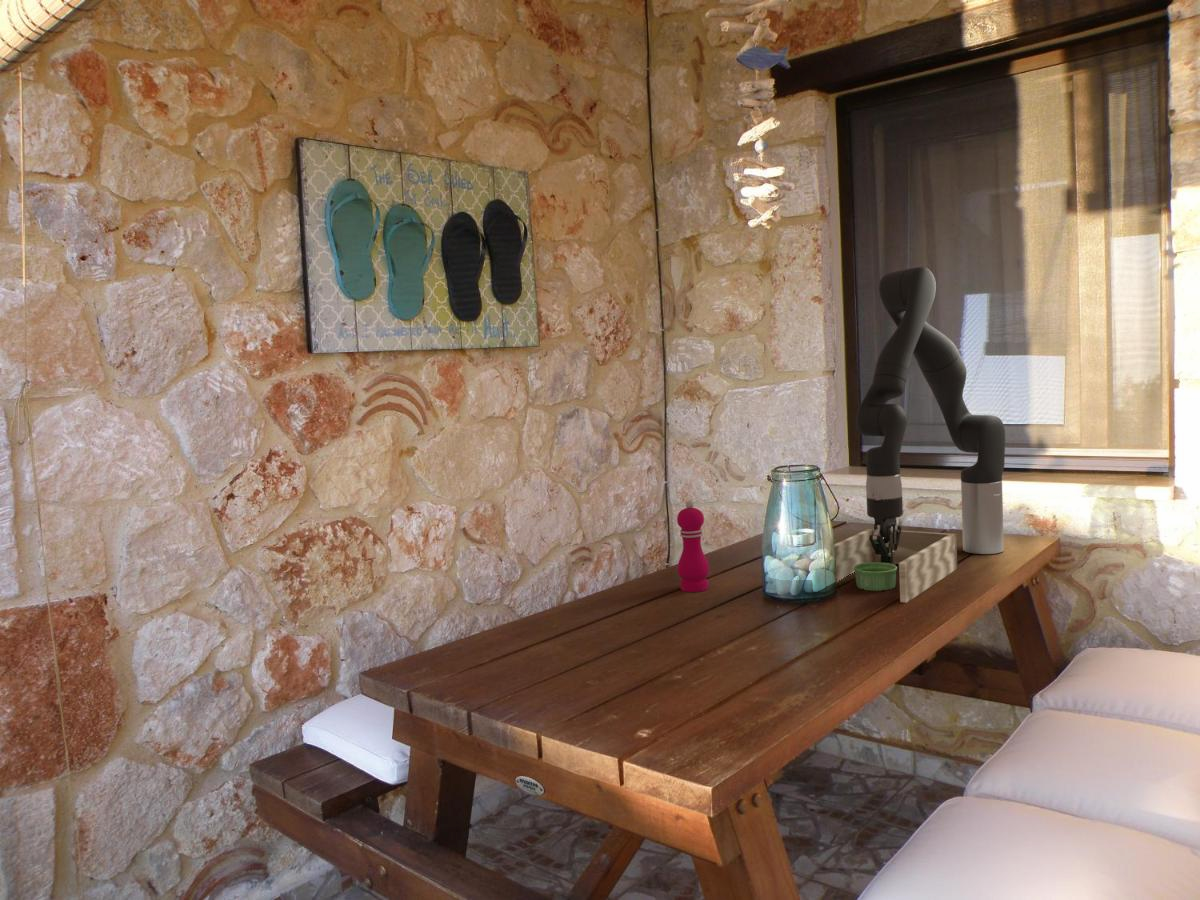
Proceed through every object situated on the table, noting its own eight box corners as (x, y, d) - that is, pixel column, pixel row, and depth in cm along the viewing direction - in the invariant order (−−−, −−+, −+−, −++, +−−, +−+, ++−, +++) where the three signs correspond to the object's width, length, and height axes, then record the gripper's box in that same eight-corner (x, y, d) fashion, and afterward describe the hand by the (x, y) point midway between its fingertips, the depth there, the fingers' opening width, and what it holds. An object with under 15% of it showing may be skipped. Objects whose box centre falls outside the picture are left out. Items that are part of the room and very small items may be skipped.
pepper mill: (710, 584, 208) (705, 497, 206) (711, 592, 201) (706, 502, 199) (678, 585, 208) (673, 499, 207) (678, 593, 201) (672, 504, 199)
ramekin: (903, 590, 192) (903, 570, 191) (861, 593, 192) (860, 573, 191) (890, 580, 201) (889, 560, 200) (849, 583, 201) (848, 563, 200)
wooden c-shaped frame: (870, 561, 220) (869, 528, 219) (957, 568, 207) (956, 534, 206) (812, 592, 195) (810, 555, 194) (906, 602, 182) (904, 563, 181)
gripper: (879, 489, 207) (882, 564, 209) (855, 499, 197) (858, 577, 199) (912, 490, 202) (914, 567, 204) (889, 500, 192) (892, 580, 194)
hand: (887, 571), depth 201 cm, fingers closed
